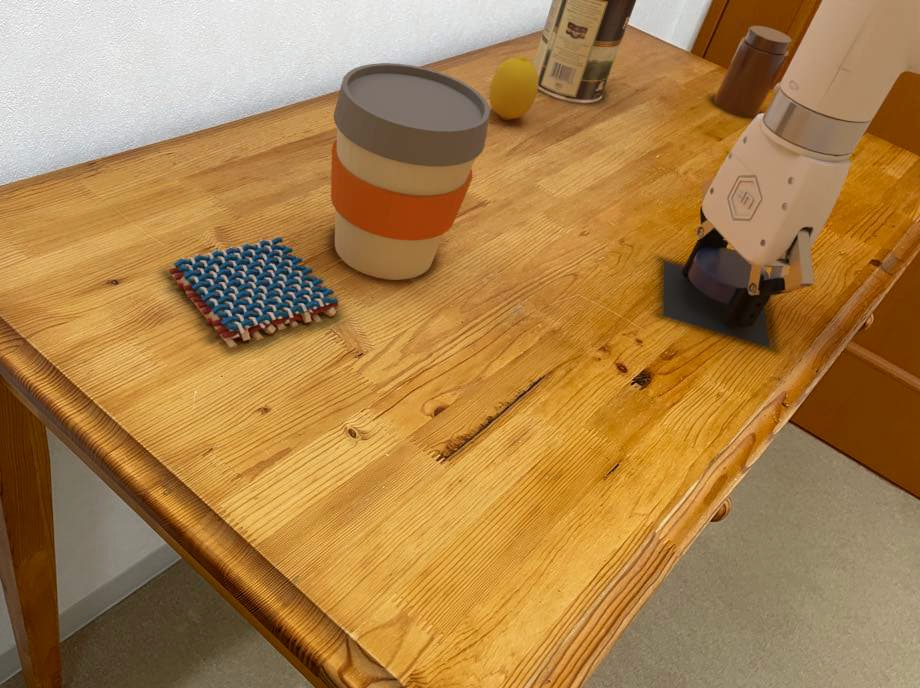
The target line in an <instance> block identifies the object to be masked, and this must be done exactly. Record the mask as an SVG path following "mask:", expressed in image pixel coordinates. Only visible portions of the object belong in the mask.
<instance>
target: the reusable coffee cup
mask: <svg viewBox="0 0 920 688" xmlns="http://www.w3.org/2000/svg"><path fill="white" fill-rule="evenodd" d="M339 88H340V89H339V92H338V97H337V101H336V104H335V108H334V113H333V120H334V124H335V126H336V139H335V140H334V142H333V143H332V147H331V163H330V164H331V167H330V168H331V169H330V171H331V172H330V199H331V204H332V206H333V208H334V209H335V210H334V211H335V212H334V213H335V215H334V249H335V251H336V253H337V255H338V256H339V258H340V259H341V260H342V261H343V262H344V263H345V264H346V265H348V266H349V267H351V268H352V269H354V270H356V271H357V272H359V273H362V274H364V275H367V276H370V277H374V278H378V279H384V280H391V281H394V280H395V281H398V280H399V281H400V280H401V281H403V280H409V279H413V278H416V277H419V276H422V275H423V274H424V273H426V272H427V271H428V270H429V269H430V268H431V266H432V263H433V262H434V258H435V256H436V254H437V252H438V249H439V246H440V245H441V241H442V240H443V238H444V234H445V233H447V232H448V231H450V230H451V228H452V227H453V225H454V223H455V221H456V218H457V216H458V214H459V211H460V209H461V206H462V204H463V202H464V200H465V197H466V195H467V192H468V191H469V188H470V185H471V183H472V181H473V170H472V168H473V166H474V163H475V160H476V158H478V157H479V156H480V155H481V154H482V153H483V151H484V149H485V147H486V140H487V135H488V128H489V122H490V116H491V109H490V105H489V103H488V101H487V99H485V97H484V96H483V95H482V94H481V93H480V92H478V91H477V90H476V89H475V88H473V86H470V85H469V84H467V83H465V82H464V81H462V80H460V79H458V78H456V77H454V76H451V75H448V74H445V73H443V72H440V71H437V70H433V69H430V68H426V67H421V66H416V65H411V64H403V63H391V62H390V63H389V62H382V63H370V64H364V65H360V66H358V67H355V68H352V69H351V70H350V71H348V72H347V73H346V74H344V76H343V77H342V81H341V84H340V87H339Z"/></svg>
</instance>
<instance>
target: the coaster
mask: <svg viewBox="0 0 920 688" xmlns="http://www.w3.org/2000/svg"><path fill="white" fill-rule="evenodd" d="M683 268H684V266H682V265H679V264H675V263H672V262H669V261H666V260H665V261H663V304H662V306H663V307H662V315H663V317H666V318H669V319H673V320H674V321H675V320H676V321H679V322H682V323H685V324H688V325H693V326H695V327H699V328H702V329H705V330H708V331H712V332H715V333H719V334H721V335H725V336H729V337H732V338H736V339H739V340H742V341H745V342H748V343H752V344H754V345H755V344H756V345H759V346H762V347H765V348H768V349H769V348H770V349H771V344H770V337H769V330H768V322H767V316H766V309H765V308H766V307H764V308H763V310H762V312H761V313H760V315H759V316H758V318H757V320H756V321H755V323H754V324H753V325H751V326H740V327H726V326H725V325H724V324H723V318H724V316H725V314H726V312H727V311H728V309H729V307H730V305H729V304H725V303H722V302H719V301H717V300H714V299H712V298H710V297H708V296H707V295H705V294H703V293H702V292H701V291H699V290H698V289H697V288H696V287H695V286H694V285H693V284H692V282H691V281H690V279H689V278H686V277H684V276H683V275H682V270H683Z"/></svg>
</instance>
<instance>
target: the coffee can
mask: <svg viewBox="0 0 920 688" xmlns="http://www.w3.org/2000/svg"><path fill="white" fill-rule="evenodd" d="M636 3H637V0H552V1H551V4H550V7H549V10H548V15H547V18H546V21H545V24H544V28H543V31H542V35H541V38H540V41H539V44H538V49H537V50H536V51H537V52H536V55H535V59H534V61H533V65H534V67H535V68H536V71H537V73H538V90H539V91H541V92H542V93H545V94H547V95H549V96H552V97H554V98H557V99H560V100H563V101H567V102H573V103H580V104H590V103H595V102H598V101H600V100H601V99H602V98H603V94H604V90H605V88H606V86H607V82H608V80H609V76H610V74H611V71H612V68H613V66H614V63H615V60H616V58H617V55H618V52H619V49H620V47H621V43H622V41H623V38H624V36H625V32H626V30H627V27H628V24H629V22H630V19H631V16H632V13H633V11H634V8H635V5H636Z"/></svg>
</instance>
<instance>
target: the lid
mask: <svg viewBox="0 0 920 688" xmlns="http://www.w3.org/2000/svg"><path fill="white" fill-rule="evenodd" d="M751 266H752V265H751V264H749V263H748V262H747V261H746V260H745V259H744V258H743V257H742V256H741V255H740V254H739V253H738V252H737V251H736V250H735V249H732V248H729V247H727V248H724V247H705V248H702V249H700V250H699V251H698V252H697V254H696V256H695V258H694V260H693V262H692V264H691V266H690V268H689V270H688V272H687V273H688V276H689V279H690V281H691V282H692V284H693V285H694V286H695V287H696V288H697V289H698V290H699V291H701V292H702V293H703V294H705V295H707V296H708V297H710V298H712V299H714V300H717V301H719V302H722V303H725V304H729V305H731V304H732V302H733V300H734V298H735V297H736V295H737V293H738V291H739V290H740V289H741V288H748V283H749V277H750V272H751ZM768 279H770V275H769V273H768V271H767V270H766V271H765V276H764V280H768Z"/></svg>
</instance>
